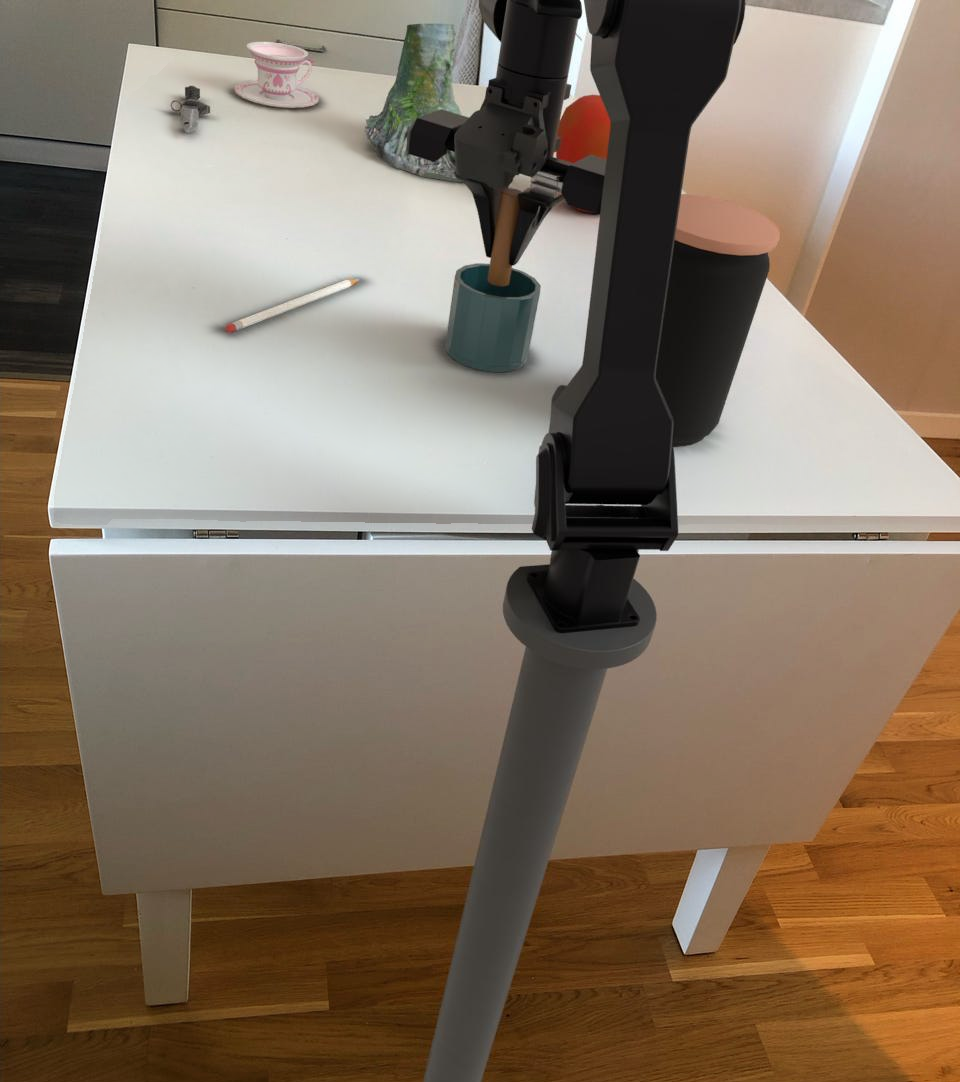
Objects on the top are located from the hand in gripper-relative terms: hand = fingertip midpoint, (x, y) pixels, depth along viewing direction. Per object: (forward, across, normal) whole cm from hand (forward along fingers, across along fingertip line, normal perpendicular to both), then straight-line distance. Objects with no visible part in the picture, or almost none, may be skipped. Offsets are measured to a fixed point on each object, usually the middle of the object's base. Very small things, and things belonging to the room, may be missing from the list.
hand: (501, 260), depth 96 cm
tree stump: (+9, -33, +48) cm, 59 cm away
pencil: (+9, -18, -4) cm, 21 cm away
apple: (+9, -9, +47) cm, 48 cm away
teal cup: (+9, 0, 0) cm, 9 cm away
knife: (+9, -60, +33) cm, 69 cm away
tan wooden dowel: (+2, 0, 0) cm, 2 cm away
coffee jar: (+9, +18, -1) cm, 20 cm away
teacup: (+9, -60, +52) cm, 80 cm away
